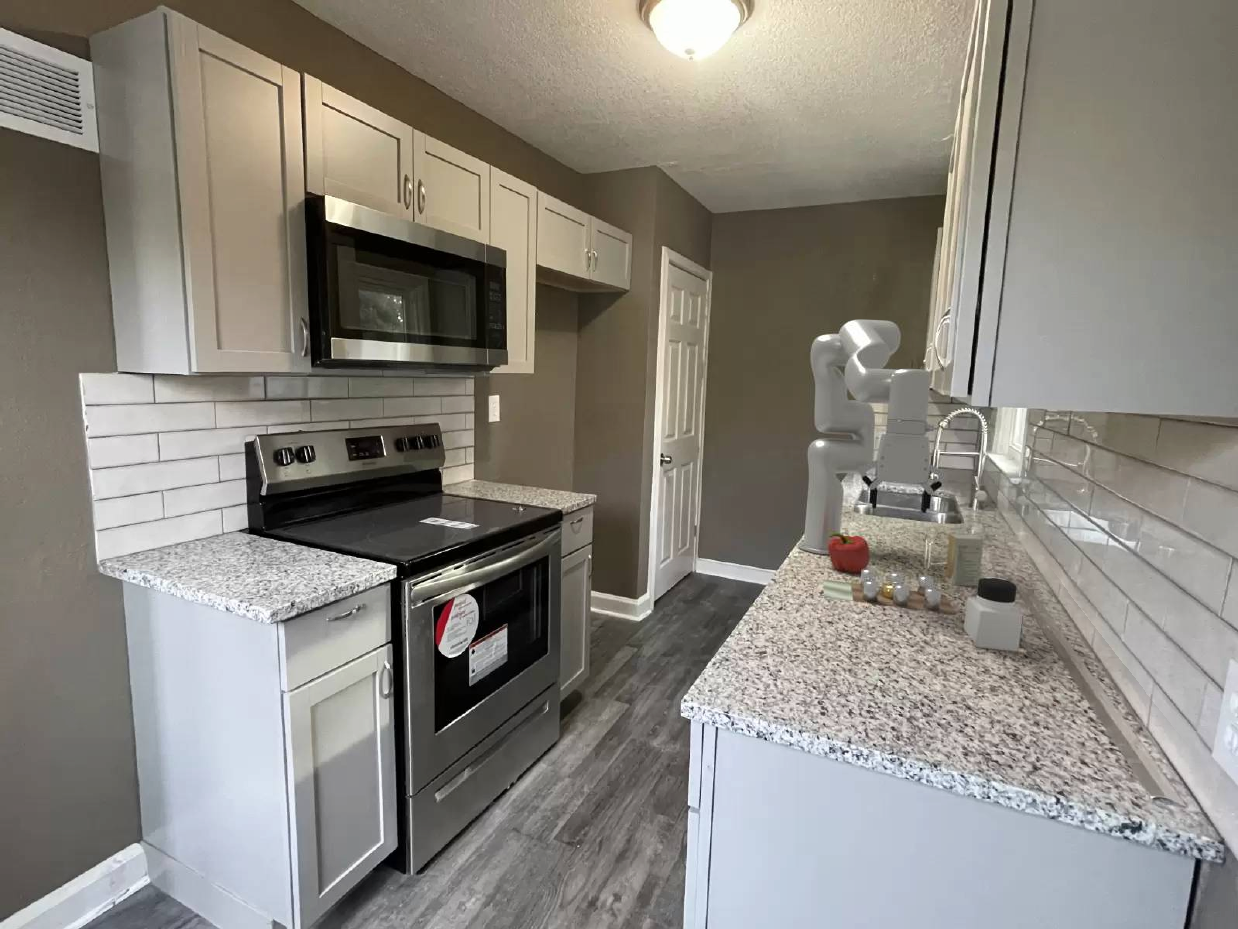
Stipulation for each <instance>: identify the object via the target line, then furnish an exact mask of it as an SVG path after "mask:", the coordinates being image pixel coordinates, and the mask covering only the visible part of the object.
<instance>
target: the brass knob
mask: <svg viewBox="0 0 1238 929" xmlns="http://www.w3.org/2000/svg"><path fill="white" fill-rule="evenodd" d="M895 584H897V583H889V581H888V582H883V583H882V587H883V588H882V596H883V597H885V598H887V599H891V600H893V594H894V585H895Z"/></svg>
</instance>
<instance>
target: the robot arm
mask: <svg viewBox="0 0 1238 929" xmlns="http://www.w3.org/2000/svg"><path fill="white" fill-rule="evenodd" d="M901 337H902V336H901V331H900V329H899V327H898V325H897V324H896V323H895V322H893V321H890V320H881V319H879V320H878V319H853V320H849V321H847V322H846V323H844V324H843V326H841V327H840V330H839V331H838V333H828V334H822V335H819V336H817V337H816V338H815V339H814V340H813V342H812V344H811V349H810V366H811V370H812V373H813V378H814V383H815V384H814V385H815V386H814V387H815V391H814V425H815V428H816V430H817V431H818V432H820V433H824V434H832V435H833V434H836V435H851V436H852V439H851V438H850V439H849V438H848V439H847V438H844V439H843V438H828V437H826V438H825V437H823V438H818V439H815V440H813V441H812V442H811V443H810V444H809V446H808V447H807V448H808V449H807V463H808V464H807V465H808V486H807V501H806V511H805V522H804V524H805V525H804V535H803V536H804V539H803V540H800V541H801V542H800V541H798V543H799V542H800V543H799V544H798V543H797V547H798V548H799V549H801V550H802V551H805V552H809V553H813V554H819V555H828V556H830V554H829V550H828V546H829V543H830V540H832V539H835V538H836V539H838V538H840V537H838V536H833V537H832V538H831V537H829V535H830V534H831V533H840V534H841V526H842V515H843V504H844V494H845V493H844V491H845V490H844V487H843V486H844V485H843V484H842V482H841V480H840V479H839V478H838V477H837V474H857V475H858V474H859V475H860V477H861V479H862V482H864V483H865V485H866V486H867V487H868V488H869V498H868V499H869V500H868V503H869V504H870V505H871V507H872V509H876V508H877V506H878V505H877V504H878V503H877V502H878V494H879V493H878V492H879V490H878V486H879V485H881V484H882V483H883V482H884V483H885V482H886V483H896V484H897V483H898V484H907V485H908V484H910V485H921V487H922V488H923V492H922V494H921V502H920V504H921V505H920V511H921V512H922V514H923V513H924V514H927V510H930V508H931V501H932V500H931V499H932V495H933V493H934V492H936V491H937V490H939V489H940V488H941V487H942V486H943V485H944V483H945V481H946V480H947V478H948V477H949V474H948V473H946V472H945V471H943V470H941V469H939V468H938V467H936V466H934V465H933V464H931V462H930V461H931V456H930V455H931V450H930V449H931V448H930V438H929V436H926V434H927V433H928V432H934V429H935V425H934V424H930V423H928V411H929V401H930V390H931V389H930V388H931V379H932V378H931V377H932V376H931V373H930V372H929V371H928V370H926V369H920V368H919V369H917V368H900V369H893V368H892V369H891V368H885V366H886V365H887V364H888V363H889V360H890V358H891V356H892V355H894V354H895V352H897V350H898V349H899V347H900V344H901V339H902V338H901ZM838 366H839V367H844V374H843V373H842V371H841V370H840V369H839V368H838ZM848 391H849V393H850V394H851V396H852V398H854V399H852V400H851V399H850V400H849V398H848ZM871 404H882V405H883V404H888V406H887V417H886V429H885V433H884V434H883V433H882V434H881V437H880V440H879V444H878V447H877V448H878V449H877V455H876V460H874V459H875V458H874V457H875V456H874V455H875V431H876V414H875V411H874V408H873V406H872V405H871ZM872 469H875V477H874V479H873V480H872V479H871V478H869V476H868V474H867V473H868V472H869V471H870V470H872ZM930 472H931V473H932V474H935V475H936V476H937V479H936V480H935V481H934V482H932V483H931V484H929V482H928V481H929V478H930Z"/></svg>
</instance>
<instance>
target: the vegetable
mask: <svg viewBox="0 0 1238 929" xmlns="http://www.w3.org/2000/svg"><path fill="white" fill-rule="evenodd" d="M833 536H838V537H840V538H838V539H836V538H835V539H832V540H830V543H829V546H828V550H829V554H830V555H829V558H830V562H831V564H832V567H833V568H834V569H835V570H837V571H840V572H841V571H842V572H844V571H845V572H847V573H850V574H861V571H862V569H865V568H866V569H867V566H868V565H869V561H870V551H869V550H870V549H869V544H868V542H867V541H866V538H864V537H863V536H860V535H854V536H850V535H844V534H842V533H841V532H840V533H831V534H830V535H829V537H831V538H832V537H833Z"/></svg>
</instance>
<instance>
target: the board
mask: <svg viewBox="0 0 1238 929" xmlns="http://www.w3.org/2000/svg"><path fill="white" fill-rule="evenodd" d="M822 581H823V584H822V585H823V597H824V598H829V599H836V600H843V601H844V600H845V601H848V602H849V601H851V602H858V603H865V604H873V605H880V606H887V607H894V608H895V607H896V608H901V609H910V610H917V611H925V612H932V613H939V614H947V615H952V616H953V615H954V616H958V614H957V612H956V610H955V609H954V608H953V606H952V604H951V602H950V600H949V598H948V597H947V595H946V594H942V593H941V600H940V609H939V611H931V610H927V609H925V608H924V607H923V606H924V597H923V596H920V595H918V594H917V591H918V590H911V589H910V592H909V601H908V606H907V607H901V606H897V605H894V604H893V600H891V599H887V598H885V597H883V596H882V588H883V586H881V585H879V591H878V601H877V602H875V603H872V602H867V601H864V600H863V588H861V587H860V583H855V582H847V581H840V580H832V579H823V580H822Z"/></svg>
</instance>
